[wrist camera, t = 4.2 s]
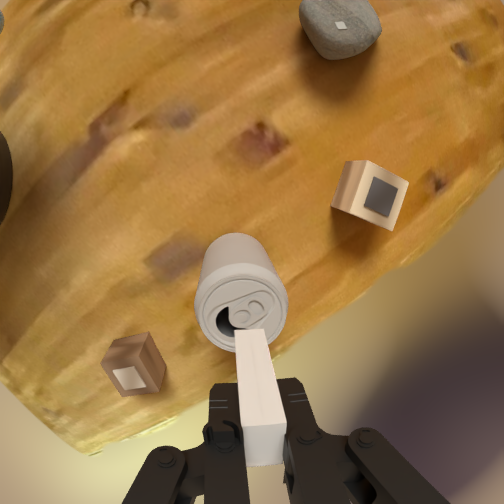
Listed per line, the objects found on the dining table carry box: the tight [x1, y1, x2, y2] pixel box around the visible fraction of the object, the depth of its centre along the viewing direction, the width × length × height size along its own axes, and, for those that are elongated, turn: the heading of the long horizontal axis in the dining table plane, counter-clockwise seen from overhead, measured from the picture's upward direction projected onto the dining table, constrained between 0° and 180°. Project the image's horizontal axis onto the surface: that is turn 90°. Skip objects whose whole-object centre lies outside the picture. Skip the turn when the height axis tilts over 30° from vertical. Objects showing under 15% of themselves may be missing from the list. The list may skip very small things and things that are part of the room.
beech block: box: [331, 160, 409, 231], centre depth 27 cm, size 5×5×5 cm
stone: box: [299, 0, 382, 60], centre depth 22 cm, size 9×9×10 cm
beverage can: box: [194, 233, 288, 352], centre depth 24 cm, size 6×6×12 cm
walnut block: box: [100, 332, 166, 397], centre depth 29 cm, size 5×5×5 cm
